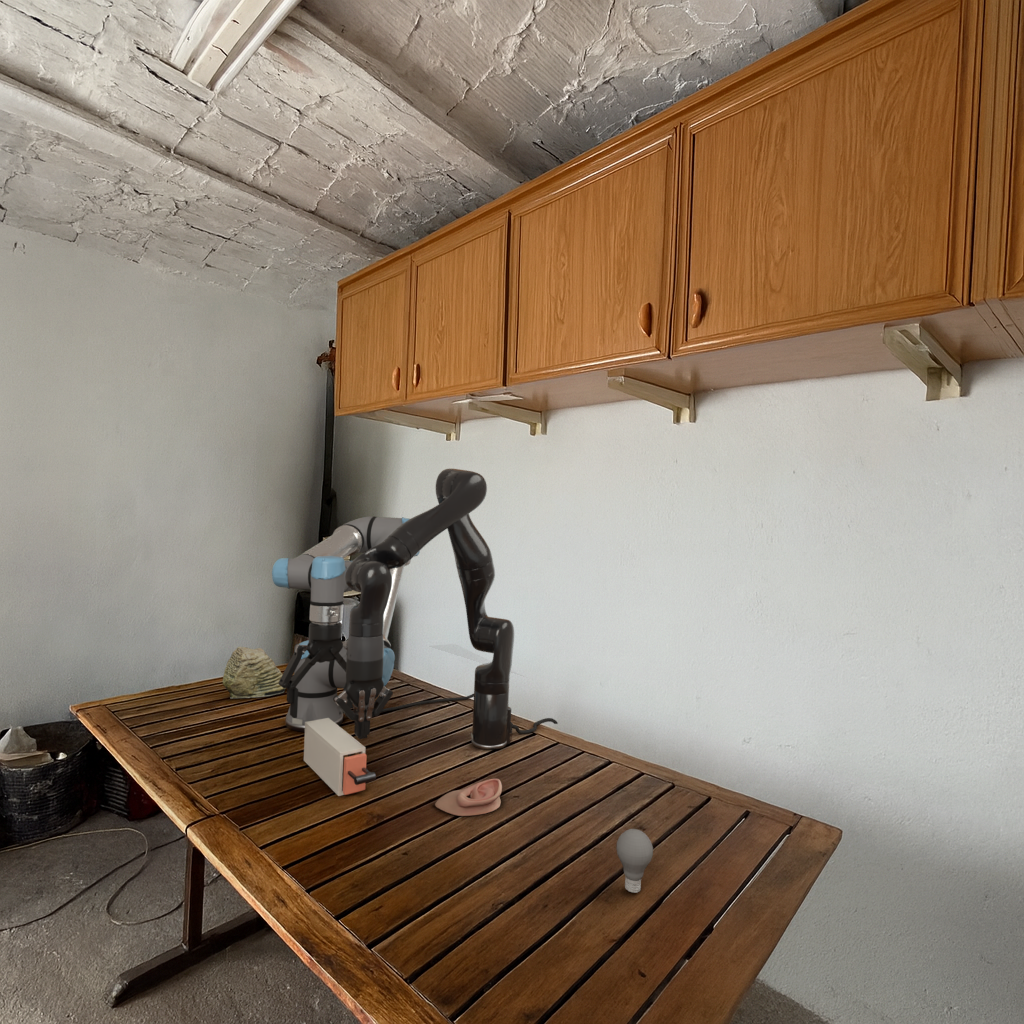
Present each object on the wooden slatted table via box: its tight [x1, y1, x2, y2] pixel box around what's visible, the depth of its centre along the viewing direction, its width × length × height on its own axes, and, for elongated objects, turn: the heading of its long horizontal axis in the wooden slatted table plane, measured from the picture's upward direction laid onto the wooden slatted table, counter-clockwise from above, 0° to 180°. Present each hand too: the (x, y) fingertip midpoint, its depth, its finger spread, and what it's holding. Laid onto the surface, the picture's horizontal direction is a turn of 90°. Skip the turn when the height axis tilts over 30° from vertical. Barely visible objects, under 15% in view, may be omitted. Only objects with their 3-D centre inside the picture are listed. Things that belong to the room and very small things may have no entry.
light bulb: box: [615, 828, 654, 894], centre depth 106 cm, size 6×6×10 cm
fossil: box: [222, 646, 287, 699], centre depth 198 cm, size 9×18×15 cm, turn 132°
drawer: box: [342, 752, 377, 796], centre depth 141 cm, size 26×5×8 cm, turn 37°
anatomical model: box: [434, 778, 503, 817], centre depth 133 cm, size 13×4×12 cm
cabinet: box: [303, 718, 367, 797], centre depth 145 cm, size 22×6×9 cm, turn 38°
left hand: (322, 711), depth 150 cm, fingers open, 13 cm apart
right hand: (362, 737), depth 133 cm, fingers closed
